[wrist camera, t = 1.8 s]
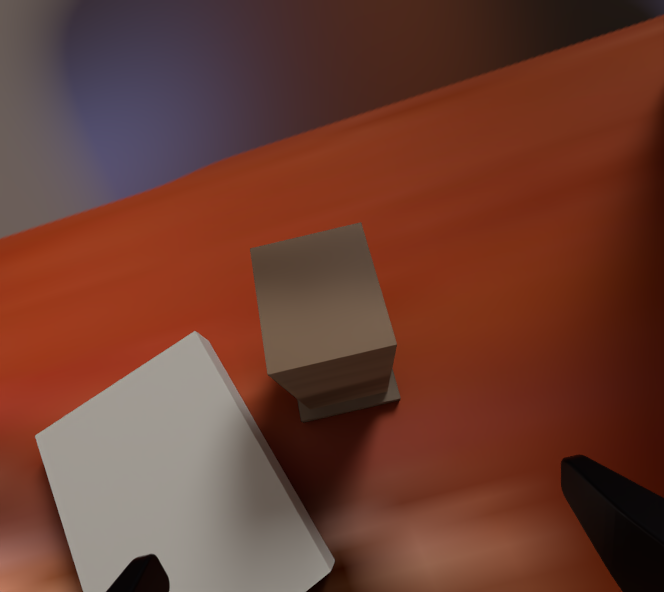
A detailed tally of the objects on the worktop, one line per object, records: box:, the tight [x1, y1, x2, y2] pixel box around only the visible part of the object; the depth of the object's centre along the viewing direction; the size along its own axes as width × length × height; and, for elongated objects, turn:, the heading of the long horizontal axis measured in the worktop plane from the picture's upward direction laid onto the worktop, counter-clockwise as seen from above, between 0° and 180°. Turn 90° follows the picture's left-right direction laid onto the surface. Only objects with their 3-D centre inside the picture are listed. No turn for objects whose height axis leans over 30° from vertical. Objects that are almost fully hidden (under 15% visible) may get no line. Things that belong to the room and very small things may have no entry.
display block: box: [35, 331, 335, 592], centre depth 20 cm, size 14×10×2 cm
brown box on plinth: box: [250, 223, 400, 423], centre depth 18 cm, size 6×6×10 cm
